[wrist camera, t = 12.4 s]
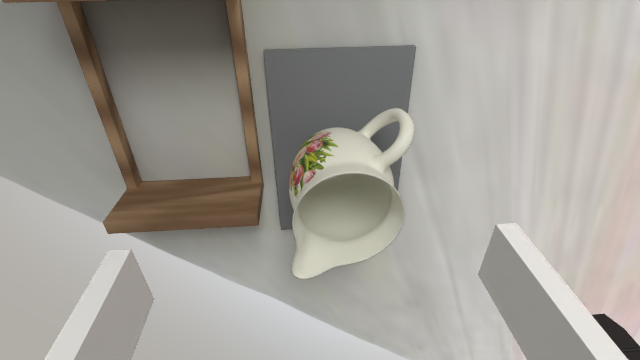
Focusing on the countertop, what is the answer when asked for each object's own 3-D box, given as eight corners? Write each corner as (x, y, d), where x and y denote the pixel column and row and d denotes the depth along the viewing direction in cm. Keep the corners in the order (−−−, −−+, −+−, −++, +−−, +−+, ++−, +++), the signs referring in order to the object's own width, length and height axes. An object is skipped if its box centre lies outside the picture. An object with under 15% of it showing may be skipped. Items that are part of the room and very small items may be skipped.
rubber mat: (264, 49, 36) (263, 51, 36) (413, 45, 37) (416, 46, 36) (281, 226, 49) (281, 229, 48) (391, 219, 50) (393, 223, 49)
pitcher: (422, 118, 41) (475, 178, 29) (327, 217, 48) (339, 298, 36) (353, 60, 37) (382, 103, 25) (259, 177, 43) (248, 254, 32)
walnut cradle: (56, -26, 31) (-9, -23, 25) (237, -29, 32) (222, -27, 26) (135, 192, 44) (107, 233, 38) (263, 186, 45) (258, 225, 39)
